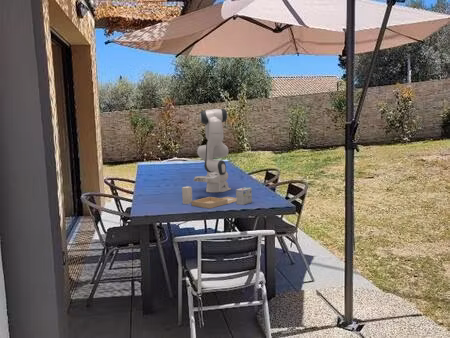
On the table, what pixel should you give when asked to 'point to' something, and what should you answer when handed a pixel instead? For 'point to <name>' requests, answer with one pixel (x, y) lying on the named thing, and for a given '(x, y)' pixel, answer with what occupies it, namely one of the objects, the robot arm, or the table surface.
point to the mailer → (213, 202)
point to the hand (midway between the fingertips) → (198, 180)
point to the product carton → (187, 195)
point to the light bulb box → (243, 196)
